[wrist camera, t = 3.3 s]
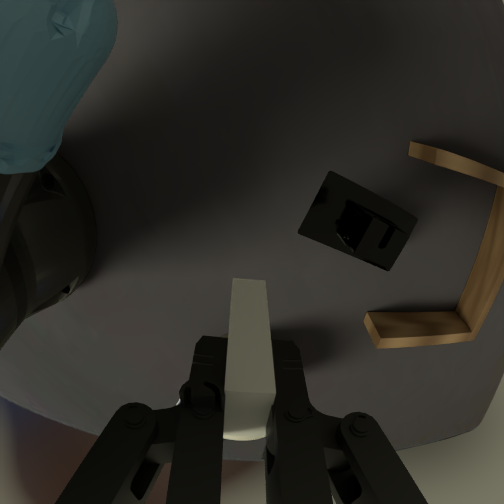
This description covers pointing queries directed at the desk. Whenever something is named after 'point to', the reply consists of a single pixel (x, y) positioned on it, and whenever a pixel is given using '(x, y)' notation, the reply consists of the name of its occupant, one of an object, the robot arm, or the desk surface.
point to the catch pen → (478, 285)
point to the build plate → (357, 222)
